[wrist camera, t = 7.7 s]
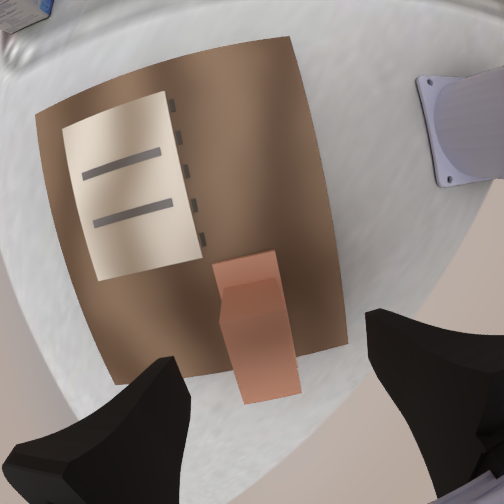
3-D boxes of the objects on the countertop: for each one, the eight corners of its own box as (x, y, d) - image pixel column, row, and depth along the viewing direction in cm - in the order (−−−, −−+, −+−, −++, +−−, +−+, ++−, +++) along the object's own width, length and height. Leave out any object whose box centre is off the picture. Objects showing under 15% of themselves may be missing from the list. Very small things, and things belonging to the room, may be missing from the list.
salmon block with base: (274, 249, 18) (286, 275, 13) (296, 364, 20) (310, 411, 15) (212, 263, 18) (203, 292, 13) (243, 375, 20) (245, 424, 15)
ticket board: (286, 43, 16) (290, 34, 15) (343, 335, 21) (349, 345, 20) (44, 117, 17) (32, 114, 15) (120, 376, 21) (114, 387, 20)
